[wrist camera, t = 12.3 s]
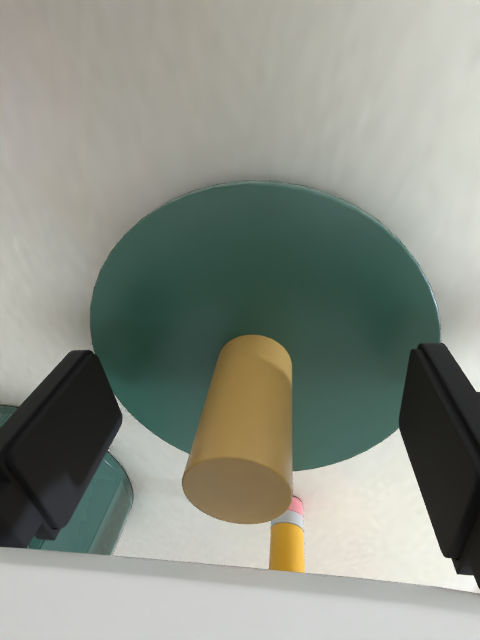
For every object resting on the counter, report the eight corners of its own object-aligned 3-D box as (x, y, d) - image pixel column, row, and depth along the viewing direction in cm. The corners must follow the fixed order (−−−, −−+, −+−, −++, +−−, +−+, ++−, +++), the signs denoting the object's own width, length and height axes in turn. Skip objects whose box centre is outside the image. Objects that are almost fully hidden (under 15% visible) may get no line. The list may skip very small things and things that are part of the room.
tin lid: (128, 112, 10) (-59, 111, 4) (512, 260, 10) (732, 404, 5) (92, 400, 16) (-3, 536, 11) (331, 478, 17) (349, 641, 11)
